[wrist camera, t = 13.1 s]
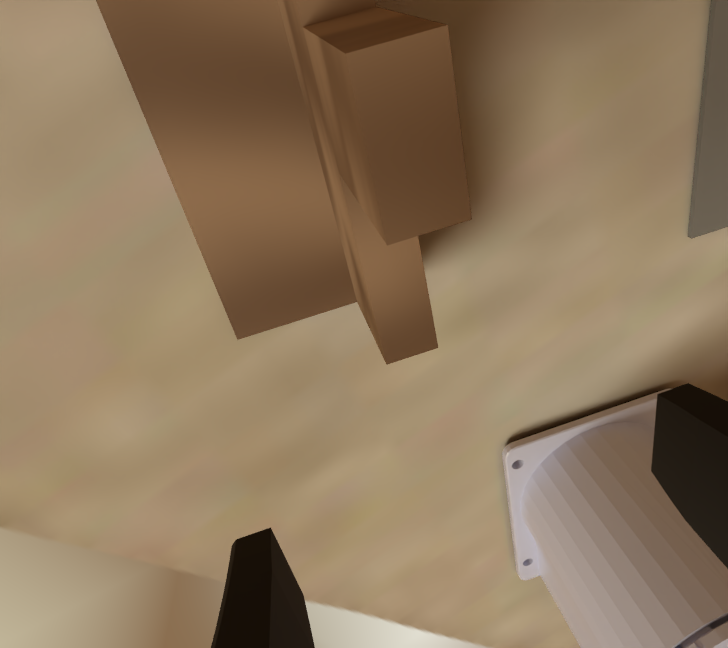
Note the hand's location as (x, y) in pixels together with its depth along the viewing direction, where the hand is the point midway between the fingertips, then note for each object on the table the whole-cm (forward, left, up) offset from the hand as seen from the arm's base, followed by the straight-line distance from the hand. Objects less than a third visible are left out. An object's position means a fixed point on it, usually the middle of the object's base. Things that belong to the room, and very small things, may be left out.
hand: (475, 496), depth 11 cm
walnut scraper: (+6, +1, -10) cm, 12 cm away
